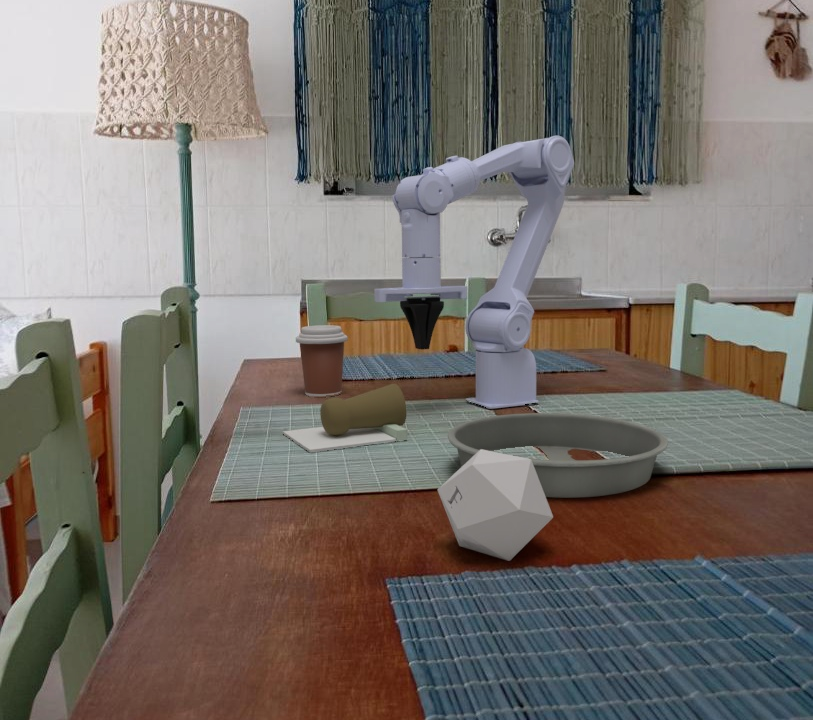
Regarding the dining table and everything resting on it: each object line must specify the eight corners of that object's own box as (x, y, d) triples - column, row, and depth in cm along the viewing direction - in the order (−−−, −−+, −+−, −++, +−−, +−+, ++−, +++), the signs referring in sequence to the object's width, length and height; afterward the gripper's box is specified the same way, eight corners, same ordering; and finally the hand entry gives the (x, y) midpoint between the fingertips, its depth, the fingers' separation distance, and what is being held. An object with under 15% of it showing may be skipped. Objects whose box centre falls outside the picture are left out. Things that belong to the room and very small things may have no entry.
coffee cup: (287, 397, 142) (285, 329, 141) (313, 388, 151) (310, 324, 149) (334, 400, 139) (332, 330, 137) (357, 391, 147) (356, 325, 145)
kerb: (372, 423, 120) (372, 413, 119) (407, 440, 109) (407, 429, 109) (363, 424, 119) (363, 414, 119) (397, 441, 108) (397, 430, 108)
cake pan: (636, 519, 77) (637, 472, 76) (409, 485, 89) (408, 445, 88) (686, 458, 98) (688, 422, 98) (497, 438, 110) (497, 405, 110)
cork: (394, 374, 114) (320, 388, 109) (410, 409, 110) (334, 425, 106) (384, 399, 118) (312, 413, 114) (399, 434, 115) (326, 449, 110)
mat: (362, 424, 119) (362, 422, 119) (396, 441, 108) (396, 439, 108) (282, 434, 114) (282, 431, 114) (310, 452, 103) (309, 449, 103)
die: (455, 533, 75) (409, 462, 70) (538, 483, 75) (499, 409, 70) (489, 599, 68) (441, 526, 63) (581, 544, 68) (541, 466, 63)
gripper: (451, 256, 128) (452, 343, 129) (365, 258, 121) (367, 348, 123) (474, 256, 121) (474, 347, 123) (384, 258, 115) (386, 354, 117)
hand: (422, 348), depth 123 cm, fingers closed
